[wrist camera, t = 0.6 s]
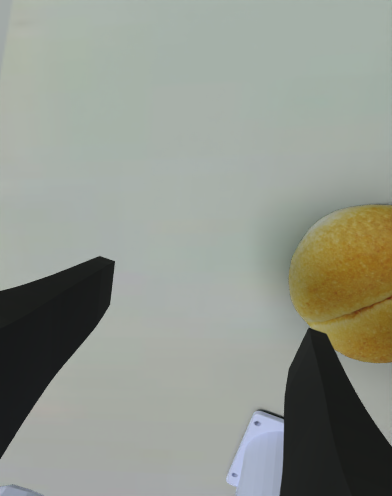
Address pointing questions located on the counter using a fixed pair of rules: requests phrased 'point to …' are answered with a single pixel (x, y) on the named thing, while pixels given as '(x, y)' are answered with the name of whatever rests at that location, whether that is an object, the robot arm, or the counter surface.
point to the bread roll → (348, 281)
